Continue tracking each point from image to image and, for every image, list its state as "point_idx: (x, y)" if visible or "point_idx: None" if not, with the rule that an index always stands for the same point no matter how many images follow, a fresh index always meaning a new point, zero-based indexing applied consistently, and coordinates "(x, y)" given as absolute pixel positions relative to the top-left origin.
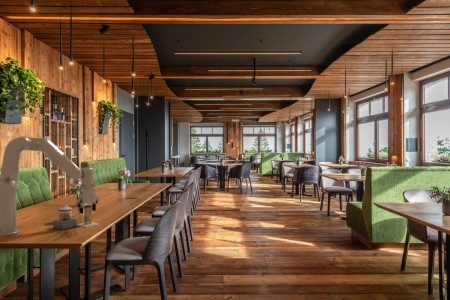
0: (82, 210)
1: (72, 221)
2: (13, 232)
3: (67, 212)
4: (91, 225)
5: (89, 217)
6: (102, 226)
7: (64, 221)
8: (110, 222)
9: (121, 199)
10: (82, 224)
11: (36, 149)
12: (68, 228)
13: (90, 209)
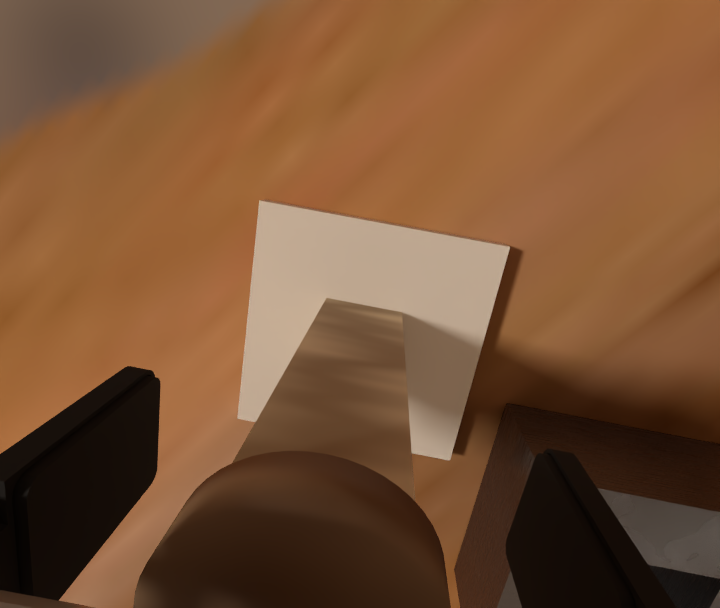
0: (606, 508)
1: (616, 475)
2: None
3: None
4: (405, 227)
5: (355, 344)
6: (345, 33)
7: None
8: (65, 133)
9: None
10: (420, 386)
11: None
12: (635, 428)
13: (288, 437)
